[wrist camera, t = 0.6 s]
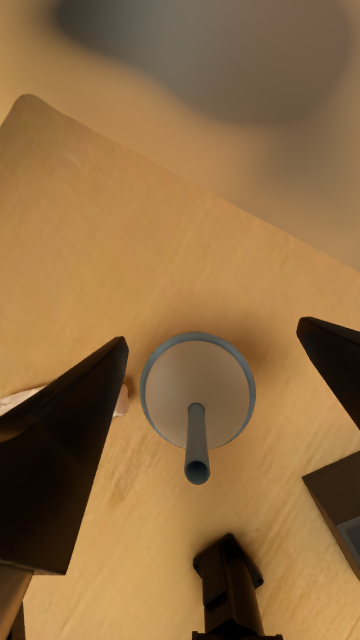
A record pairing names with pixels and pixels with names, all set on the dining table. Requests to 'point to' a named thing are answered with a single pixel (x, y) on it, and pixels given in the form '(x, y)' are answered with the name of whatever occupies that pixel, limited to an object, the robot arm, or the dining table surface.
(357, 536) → the bin
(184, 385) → the cup with straw
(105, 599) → the dining table surface
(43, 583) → the dining table surface
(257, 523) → the dining table surface
